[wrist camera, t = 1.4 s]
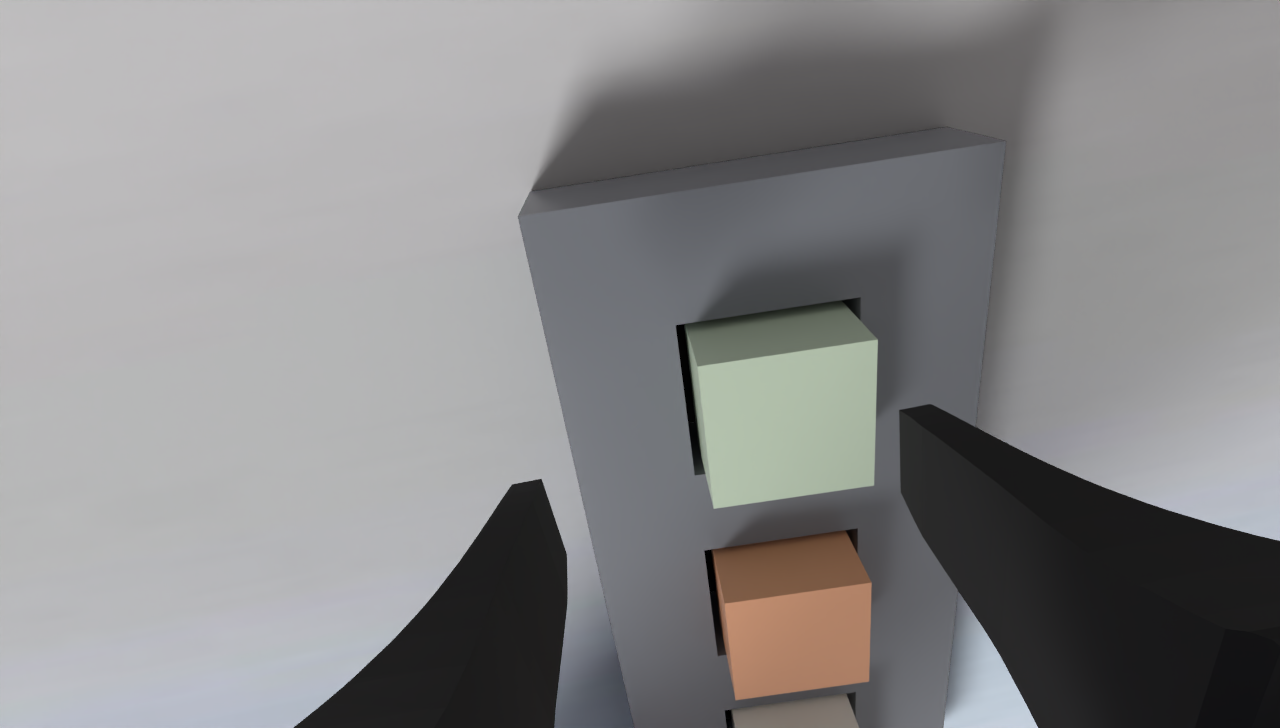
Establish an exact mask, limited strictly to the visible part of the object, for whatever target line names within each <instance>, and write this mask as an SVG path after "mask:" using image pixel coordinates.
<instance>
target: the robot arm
mask: <svg viewBox="0 0 1280 728" xmlns="http://www.w3.org/2000/svg"><path fill="white" fill-rule="evenodd" d="M899 430H900V488H901V494H902V496H903V498H904V500H905V502H906V505H907V507H908V509H909V511H910V513H911V515H912V517H913V519H914V521H915V523H916V525H917V527H918V529H919V531H920V533H921V535H922V537H923V538H924V540H925V541H926V543H927V544H928V546H929V547H930V549H931V551H932V552H933V554H934V555H935V557H936V558H937V560H938V561H939V563H940V564H941V566H942V567H943V569H944V570H945V572H946V573H947V575H948V576H949V578H950V579H951V581H952V582H953V584H954V585H955V587H956V588H957V590H958V591H959V593H960V594H961V595H962V597H963V598H964V600H965V601H966V603H967V604H968V606H969V607H970V609H971V610H972V612H973V613H974V615H975V616H976V618H977V619H978V621H979V622H980V624H981V625H982V627H983V628H984V630H985V631H986V633H987V634H988V636H989V638H990V639H991V641H992V643H993V644H994V646H995V647H996V649H997V651H998V652H999V654H1000V656H1001V658H1002V660H1003V661H1004V663H1005V665H1006V667H1007V669H1008V671H1009V673H1010V674H1011V676H1012V678H1013V680H1014V682H1015V684H1016V686H1017V688H1018V689H1019V691H1020V693H1021V695H1022V697H1023V699H1024V701H1025V703H1026V704H1027V706H1028V708H1029V710H1030V712H1031V714H1032V716H1033V718H1034V720H1035V722H1036V724H1037V726H1038V728H1280V541H1277V540H1273V539H1269V538H1265V537H1260V536H1256V535H1252V534H1248V533H1245V532H1241V531H1237V530H1233V529H1229V528H1226V527H1222V526H1218V525H1215V524H1212V523H1208V522H1205V521H1202V520H1198V519H1195V518H1192V517H1188V516H1185V515H1182V514H1178V513H1175V512H1172V511H1168V510H1165V509H1162V508H1159V507H1156V506H1153V505H1150V504H1147V503H1144V502H1142V501H1139V500H1136V499H1134V498H1131V497H1128V496H1125V495H1123V494H1120V493H1117V492H1115V491H1112V490H1109V489H1106V488H1104V487H1101V486H1099V485H1096V484H1094V483H1091V482H1089V481H1086V480H1084V479H1082V478H1079V477H1077V476H1075V475H1073V474H1070V473H1068V472H1066V471H1064V470H1061V469H1059V468H1057V467H1055V466H1052V465H1050V464H1048V463H1046V462H1044V461H1042V460H1039V459H1037V458H1035V457H1033V456H1031V455H1029V454H1027V453H1025V452H1023V451H1021V450H1019V449H1017V448H1015V447H1013V446H1011V445H1009V444H1007V443H1005V442H1003V441H1001V440H999V439H997V438H995V437H993V436H991V435H990V434H988V433H986V432H984V431H982V430H980V429H978V428H976V427H974V426H973V425H971V424H969V423H967V422H965V421H963V420H961V419H959V418H957V417H956V416H954V415H952V414H950V413H948V412H946V411H944V410H942V409H940V408H938V407H936V406H934V405H932V404H927V405H922V406H917V407H912V408H907V409H901V410H899ZM566 610H567V554H566V551H565V548H564V545H563V542H562V539H561V536H560V533H559V530H558V527H557V524H556V521H555V518H554V515H553V512H552V509H551V506H550V503H549V500H548V497H547V494H546V491H545V488H544V485H543V482H542V479H539V480H533V481H528V482H523V483H518V484H513V485H512V486H511V487H510V488H509V490H508V491H507V493H506V494H505V496H504V497H503V499H502V500H501V502H500V503H499V505H498V506H497V508H496V509H495V511H494V512H493V514H492V515H491V517H490V518H489V520H488V521H487V523H486V524H485V526H484V527H483V529H482V530H481V532H480V533H479V535H478V536H477V537H476V539H475V540H474V542H473V543H472V545H471V546H470V547H469V549H468V550H467V552H466V553H465V555H464V556H463V557H462V559H461V560H460V562H459V563H458V564H457V566H456V567H455V568H454V570H453V571H452V572H451V573H450V575H449V576H448V577H447V579H446V580H445V581H444V582H443V584H442V585H441V586H440V588H439V589H438V590H437V591H436V593H435V594H434V595H433V596H432V598H431V599H430V600H429V601H428V602H427V604H426V605H425V606H424V607H423V608H422V609H421V610H420V612H419V613H418V614H417V615H416V616H415V617H414V618H413V619H412V620H411V621H410V623H409V624H408V625H407V626H406V627H405V628H404V629H403V630H402V631H401V632H400V633H399V634H398V635H397V636H396V638H395V639H394V640H393V641H392V642H391V643H390V644H389V645H388V646H386V647H385V648H384V649H383V650H382V651H381V652H380V653H379V654H378V655H377V656H376V657H375V658H374V659H373V660H372V661H371V662H370V663H369V664H368V665H366V666H365V667H364V668H363V669H362V670H361V671H360V672H359V673H358V674H357V675H356V676H355V677H354V678H353V679H352V680H351V681H349V682H348V683H347V684H346V685H345V686H344V687H343V688H341V689H340V690H339V691H338V692H337V693H336V694H334V695H333V696H332V697H331V698H330V699H328V700H327V701H326V702H325V703H324V704H323V705H321V706H320V707H319V708H318V709H316V710H315V711H314V712H313V713H311V714H310V715H309V716H308V717H306V718H305V719H304V720H303V721H301V722H300V723H299V724H298V725H296V726H295V727H294V728H554V721H555V708H556V699H557V690H558V681H559V673H560V664H561V655H562V647H563V638H564V629H565V620H566Z"/></svg>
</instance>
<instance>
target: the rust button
mask: <svg viewBox="0 0 1280 728" xmlns="http://www.w3.org/2000/svg"><path fill="white" fill-rule="evenodd" d="M711 553H712V561H713V569H714V578H715V586H716V594H717V603H718V611H719V619H720V625H721V630H722V635H723V640H724V645H725V650H726V655H727V660H728V665H729V670H730V675H731V680H732V685H733V690H734V695H735V700H741V699H748V698H756V697H763V696H770V695H777V694H784V693H791V692H798V691H805V690H812V689H819V688H827V687H834V686H841V685H848V684H855V683H862V682H869V665H870V626H871V587H872V582H871V580H870V578H869V576H868V574H867V572H866V570H865V568H864V566H863V564H862V562H861V560H860V558H859V556H858V554H857V552H856V550H855V548H854V546H853V544H852V542H851V540H850V538H849V536H848V534H847V532H846V530H843V531H836V532H829V533H822V534H815V535H808V536H801V537H794V538H787V539H781V540H774V541H767V542H760V543H753V544H746V545H739V546H732V547H725V548H718V549H711Z"/></svg>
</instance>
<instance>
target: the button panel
mask: <svg viewBox="0 0 1280 728" xmlns="http://www.w3.org/2000/svg"><path fill="white" fill-rule="evenodd" d="M1005 148H1006V141H1004V140H1000V139H996V138H991V137H987V136H983V135H979V134H975V133H971V132H966V131H962V130H958V129H954V128H950V127H943V128H937V129H931V130H924V131H918V132H911V133H905V134H898V135H892V136H885V137H879V138H873V139H866V140H860V141H853V142H847V143H840V144H834V145H827V146H821V147H815V148H808V149H802V150H795V151H789V152H782V153H776V154H769V155H763V156H756V157H750V158H744V159H737V160H731V161H724V162H718V163H711V164H705V165H698V166H692V167H686V168H679V169H673V170H666V171H660V172H653V173H647V174H640V175H634V176H628V177H621V178H615V179H608V180H602V181H595V182H589V183H582V184H576V185H569V186H563V187H557V188H550V189H544V190H537V191H531V192H530V193H529V195H528V197H527V199H526V201H525V203H524V205H523V207H522V209H521V211H520V213H519V215H518V219H519V224H520V228H521V232H522V237H523V241H524V246H525V250H526V254H527V259H528V263H529V268H530V272H531V276H532V281H533V285H534V290H535V294H536V298H537V303H538V307H539V312H540V316H541V320H542V325H543V329H544V334H545V338H546V342H547V347H548V351H549V355H550V360H551V364H552V369H553V373H554V377H555V382H556V386H557V391H558V395H559V399H560V404H561V408H562V413H563V417H564V421H565V426H566V430H567V435H568V439H569V443H570V448H571V452H572V457H573V461H574V465H575V470H576V474H577V479H578V483H579V487H580V492H581V496H582V501H583V505H584V509H585V514H586V518H587V523H588V527H589V531H590V536H591V540H592V544H593V549H594V553H595V558H596V562H597V566H598V571H599V575H600V580H601V584H602V588H603V593H604V597H605V602H606V606H607V610H608V615H609V619H610V624H611V628H612V632H613V637H614V641H615V646H616V650H617V654H618V659H619V663H620V668H621V672H622V676H623V681H624V685H625V690H626V694H627V698H628V703H629V707H630V711H631V716H632V720H633V725H634V728H733V727H732V719H731V720H726V717H725V710H731V709H738V708H745V707H752V706H760V705H767V704H774V703H781V702H788V701H795V700H802V699H809V698H817V697H824V696H831V695H838V694H845V693H846V694H847V697H848V699H849V702H850V705H851V707H852V710H853V713H854V715H855V718H856V721H857V723H858V726H859V728H943V726H944V716H945V707H946V698H947V688H948V679H949V670H950V660H951V651H952V642H953V632H954V623H955V614H956V604H957V595H958V590H957V588H956V587H955V585H954V584H953V582H952V581H951V579H950V578H949V576H948V575H947V573H946V572H945V570H944V569H943V567H942V566H941V564H940V563H939V561H938V560H937V558H936V557H935V555H934V554H933V552H932V551H931V549H930V547H929V546H928V544H927V543H926V541H925V540H924V538H923V537H922V535H921V533H920V531H919V529H918V527H917V525H916V523H915V521H914V519H913V517H912V515H911V513H910V511H909V509H908V507H907V505H906V502H905V500H904V498H903V496H902V494H901V488H900V430H899V410H901V409H907V408H912V407H917V406H922V405H927V404H932V405H934V406H936V407H938V408H940V409H942V410H944V411H946V412H948V413H950V414H952V415H954V416H956V417H957V418H959V419H961V420H963V421H965V422H967V423H969V424H971V425H973V426H974V427H976V418H977V409H978V399H979V390H980V381H981V371H982V362H983V353H984V343H985V334H986V325H987V315H988V306H989V297H990V288H991V278H992V269H993V260H994V250H995V241H996V232H997V222H998V213H999V204H1000V194H1001V185H1002V176H1003V166H1004V157H1005ZM839 300H841V301H842V302H843V303H844V304H845V305H846V306H847V307H848V308H849V309H850V310H851V311H852V312H853V313H854V315H855V316H856V317H857V318H858V319H859V320H860V321H861V322H862V323H863V324H864V325H865V326H866V327H867V328H868V330H869V331H870V332H871V333H872V334H873V335H874V336H875V337H876V338H877V339H878V353H877V392H876V431H875V470H874V486H867V487H860V488H853V489H846V490H840V491H833V492H826V493H819V494H812V495H805V496H798V497H792V498H785V499H778V500H771V501H764V502H757V503H750V504H744V505H737V506H730V507H723V508H716V509H714V508H713V504H712V499H711V495H710V491H709V487H708V483H707V478H706V474H705V470H704V466H703V462H702V457H701V453H700V449H699V445H698V437H697V429H696V422H691V423H688V419H687V411H686V403H685V395H684V387H683V379H682V372H681V364H680V356H679V348H678V340H677V332H676V325H680V324H687V323H693V322H700V321H707V320H713V319H720V318H726V317H733V316H740V315H746V314H753V313H760V312H766V311H773V310H779V309H786V308H793V307H799V306H806V305H813V304H819V303H826V302H832V301H839ZM843 530H846V532H847V534H848V536H849V538H850V540H851V542H852V544H853V546H854V548H855V550H856V552H857V554H858V556H859V558H860V560H861V562H862V564H863V566H864V568H865V570H866V572H867V574H868V576H869V578H870V580H871V582H872V587H871V626H870V665H869V682H862V683H855V684H848V685H841V686H834V687H827V688H819V689H812V690H805V691H798V692H791V693H784V694H777V695H770V696H763V697H756V698H748V699H741V700H735V695H734V690H733V685H732V680H731V675H730V670H729V665H728V660H727V655H726V650H725V645H724V640H723V635H722V630H721V625H720V619H719V611H718V603H717V594H716V591H714V592H709V584H708V576H707V568H706V560H705V552H704V551H705V550H711V549H718V548H725V547H732V546H739V545H746V544H753V543H760V542H767V541H774V540H781V539H787V538H794V537H801V536H808V535H815V534H822V533H829V532H836V531H843Z"/></svg>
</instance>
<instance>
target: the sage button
mask: <svg viewBox="0 0 1280 728" xmlns="http://www.w3.org/2000/svg"><path fill="white" fill-rule="evenodd" d="M684 330H685V338H686V346H687V354H688V363H689V371H690V379H691V387H692V396H693V404H694V412H695V421H696V429H697V437H698V445H699V449H700V453H701V457H702V462H703V466H704V470H705V474H706V478H707V483H708V487H709V491H710V495H711V499H712V504H713V508H714V509H716V508H723V507H730V506H737V505H744V504H750V503H757V502H764V501H771V500H778V499H785V498H792V497H798V496H805V495H812V494H819V493H826V492H833V491H840V490H846V489H853V488H860V487H867V486H874V470H875V431H876V392H877V353H878V339H877V338H876V337H875V336H874V335H873V334H872V333H871V332H870V331H869V330H868V328H867V327H866V326H865V325H864V324H863V323H862V322H861V321H860V320H859V319H858V318H857V317H856V316H855V315H854V313H853V312H852V311H851V310H850V309H849V308H848V307H847V306H846V305H845V304H844V303H843V302H842V301H841V300H839V301H832V302H826V303H819V304H813V305H806V306H799V307H793V308H786V309H779V310H773V311H766V312H760V313H753V314H746V315H740V316H733V317H726V318H720V319H713V320H707V321H700V322H693V323H687V324H684Z"/></svg>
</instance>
